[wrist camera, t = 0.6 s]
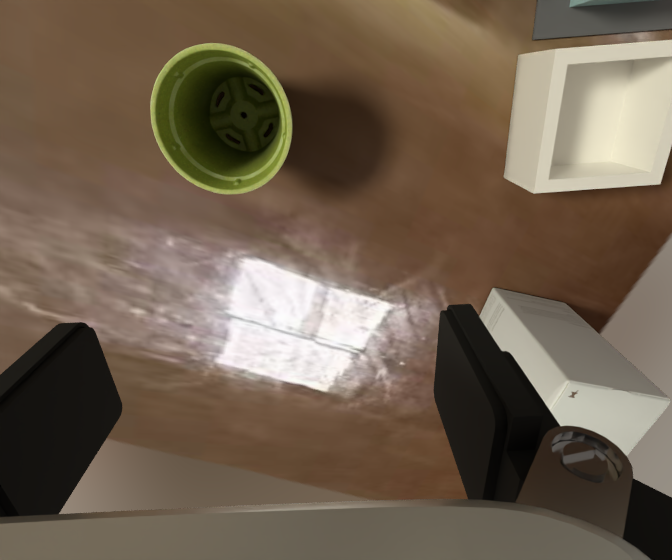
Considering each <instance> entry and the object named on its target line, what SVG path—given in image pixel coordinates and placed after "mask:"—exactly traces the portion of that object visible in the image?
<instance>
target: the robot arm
mask: <svg viewBox="0 0 672 560" xmlns="http://www.w3.org/2000/svg"><path fill="white" fill-rule="evenodd" d="M434 397H435V402H436V405H437V408H438V411H439V414H440V417H441V420H442V423H443V426H444V429H445V432H446V435H447V437H448V440H449V443H450V446H451V449H452V452H453V455H454V458H455V461H456V464H457V467H458V470H459V473H460V476H461V479H462V482H463V485H464V488H465V491H466V494H467V497H468V499H420V500H375V501H348V502H323V503H300V504H299V503H296V504H273V505H248V506H247V505H246V506H225V507H202V508H178V509H158V510H135V511H113V512H93V513H75V514H59V512H60V511H61V509H62V508H63V506H64V505H65V503H66V501H67V500H68V498H69V497H70V495H71V494H72V492H73V490H74V489H75V487H76V486H77V484H78V482H79V481H80V479H81V477H82V476H83V474H84V473H85V471H86V470H87V468H88V466H89V464H90V463H91V462H92V460H93V459H94V457H95V455H96V454H97V452H98V451H99V449H100V448H101V446H102V444H103V443H104V441H105V440H106V438H107V436H108V435H109V433H110V432H111V430H112V428H113V427H114V425H115V424H116V422H117V421H118V419H119V417H120V415H121V412H122V402H121V400H120V397H119V394H118V392H117V389H116V386H115V383H114V381H113V378H112V375H111V373H110V370H109V367H108V365H107V362H106V359H105V357H104V354H103V351H102V349H101V346H100V343H99V341H98V338H97V335H96V333H95V331H94V329H93V328H90V327H89V326H88V325H87V324H86V323H83V322H79V323H61V324H58V325H57V326H55V327H54V328H53V329H52V330H51V331H50V332H48V333H47V334H46V335H45V336H44V337H43V338H42V339H40V340H39V341H38V342H37V343H36V344H35V345H34V346H33V347H31V348H30V349H29V350H28V351H27V352H26V353H25V354H23V355H22V356H21V357H20V358H19V359H18V360H17V361H16V362H14V363H13V364H12V365H11V366H10V367H9V368H8V369H6V370H5V371H4V372H3V373H2V374H1V375H0V560H672V498H671V497H669V496H667V495H665V494H663V493H661V492H659V491H657V490H655V489H653V488H651V487H649V486H647V485H645V484H643V483H641V482H639V481H637V480H635V479H633V471H632V465H631V463H630V462H629V460H628V458H627V456H626V455H625V454H624V453H623V452H622V450H621V449H620V448H619V447H618V446H617V445H615V444H614V443H613V442H611V441H610V440H609V439H607V438H606V437H604V436H602V435H600V434H598V433H596V432H594V431H591V430H588V429H585V428H582V427H576V426H568V425H567V426H560V425H559V423H558V422H557V420H556V419H555V417H554V416H553V414H552V413H551V411H550V410H549V408H548V407H547V405H546V404H545V403H544V401H543V400H542V398H541V397H540V395H539V394H538V392H537V391H536V389H535V388H534V386H533V385H532V383H531V382H530V381H529V379H528V378H527V376H526V375H525V373H524V372H523V370H522V369H521V367H520V366H519V364H518V363H517V361H516V360H515V359H514V357H513V356H512V355H511V354H510V352H507V351H501V349H500V348H499V346H498V345H497V343H496V342H495V340H494V339H493V337H492V335H491V334H490V332H489V331H488V329H487V328H486V326H485V325H484V323H483V322H482V320H481V319H480V317H479V316H478V314H477V312H476V311H475V309H474V308H473V306H472V305H471V304H460V305H449V306H448V307H447V310H446V311H441V313H440V321H439V333H438V345H437V357H436V369H435V381H434Z"/></svg>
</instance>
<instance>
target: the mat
mask: <svg viewBox="0 0 672 560" xmlns="http://www.w3.org/2000/svg"><path fill="white" fill-rule="evenodd" d="M569 6H570V0H537V6H536V14H535V22H534V30H533V37H532V40H536V39H549V38H561V37H574V36H587V35H599V34H612V33H625V32H637V31H650V30H663V29H672V0H654V1H642V2H629V3H617V4H604V5H592V6H579V7H569Z"/></svg>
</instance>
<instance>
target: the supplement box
mask: <svg viewBox="0 0 672 560" xmlns="http://www.w3.org/2000/svg"><path fill="white" fill-rule="evenodd" d="M479 317H480V319H481V320H482V322H483V323H484V325H485V326H486V328H487V329H488V331H489V332H490V334H491V335H492V337H493V339H494V340H495V342H496V343H497V345H498V346H499V348H500V349H501V351H507V352H510V354H511V355H512V356H513V357H514V359H515V360H516V361H517V363H518V364H519V366H520V367H521V369H522V370H523V372H524V373H525V375H526V376H527V378H528V379H529V381H530V382H531V383H532V385H533V386H534V388H535V389H536V391H537V392H538V394H539V395H540V397H541V398H542V400H543V401H544V403H545V404H546V405H547V407H548V408H549V410H550V411H551V413H552V414H553V416H554V417H555V419H556V420H557V422H558V423H559V425H560V426H567V425H568V426H576V427H582V428H585V429H588V430H591V431H594V432H596V433H598V434H600V435H602V436H604V437H606V438H607V439H609V440H610V441H611V442H613V443H614V444H615V445H617V446H618V447H619V448H620V449H621V450H622V452H623V453H624V454H625V455H626V456H627V455H628V454H629V453H630V451H631V450H632V449H633V448H634V446H635V445H636V444H637V443H638V442H639V440H640V439H641V438H642V437H643V436H644V434H645V433H646V432H647V431H648V430H649V428H650V427H651V426H652V425H653V424H654V422H655V421H656V420H657V419H658V418H659V416H660V415H661V414H662V413H663V412H664V410H665V409H666V408H667V406H668V405H669V404H670V402H671V399H670V398H669V397H668V396H667V395H666V394H664V393H663V392H662V391H661V390H660V389H659V388H658V387H657V386H656V385H655V384H654V383H653V382H651V381H650V380H649V379H648V378H647V377H646V376H645V375H644V374H643V373H641V372H640V371H639V370H638V369H637V368H636V367H635V366H634V365H632V363H630V362H629V361H628V360H627V359H626V358H625V357H624V356H623V355H621V353H619V352H618V351H617V350H616V349H615V348H614V347H613V346H612V345H611V344H610V343H608V342H607V341H606V340H605V339H604V338H603V337H602V336H601V335H600V334H599V333H597V332H596V331H595V330H594V329H593V328H592V327H591V326H590V325H589V324H588V323H586V322H585V321H584V320H583V319H582V318H581V317H580V316H579V315H578V314H577V313H576V312H574V311H573V310H572V309H571V308H570V307H569V306H568V305H567V304H566V303H563V302H559V301H554V300H549V299H545V298H540V297H535V296H531V295H526V294H522V293H517V292H513V291H508V290H503V289H499V288H492V291H491V293H490V295H489V297H488V299H487V301H486V303H485V306H484V308H483V310H482V312H481V314H480V316H479Z"/></svg>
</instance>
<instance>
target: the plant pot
mask: <svg viewBox="0 0 672 560" xmlns="http://www.w3.org/2000/svg"><path fill="white" fill-rule="evenodd" d="M251 84H253V85H255V86H257V87H258V88H260V89H261V90H263V93H264V95H261V94H260V93H258V92H257V91H256V90H254V89H252V88H250V87H249V85H251ZM221 92H224V93H225V95H224V96H223V98H222V100H221V102H220V104H219V107H217V106H216V102H217V97H218V96H219V94H220V93H221ZM150 108H151V122H152V127H153V131H154V135H155V138H156V140H157V143H158V145H159V147H160V149H161V151H162V152H163V154H164V156H165V157H166V159H167V160H168V161H169V163H170V164H171V165H172V166H173V167H174V169H175V170H176V171H177V172H178V173H179V174H180V175H182V176H183V177H184V178H185V179H187V180H188V181H190V182H192V183H193V184H195V185H197V186H199V187H201V188H203V189H205V190H208V191H212V192H215V193H220V194H240V193H246V192H250V191H252V190H255V189H257V188H259V187H261V186H263V185H264V184H266V183H267V182H268V181H269V180H271V179H272V178H273V177H274V176H275V175H276V173H277V172H278V171H279V170H280V168H281V167H282V165H283V163H284V161H285V159H286V157H287V154H288V152H289V148H290V144H291V139H292V114H291V109H290V105H289V102H288V99H287V96H286V94H285V92H284V90H283V87H282V86H281V84H280V82H279V81H278V79H277V78H276V76H275V75H274V74H273V73H272V71H271V70H270V69H269V68H268V67H267V66H266V65H265V64H264V63H263V62H261V61H260V60H259V59H258V58H256V57H255V56H253V55H251V54H250V53H248V52H246V51H244V50H242V49H240V48H237V47H234V46H230V45H226V44H219V43H206V44H200V45H196V46H193V47H190V48H187V49H185V50H183V51H181V52H179V53H178V54H176V55H175V56H174V57H173V58H172V59H171V60H169V61H168V63H167V64H166V65H165V66H164V68H163V69H162V70H161V72H160V74H159V75H158V77H157V79H156V82H155V85H154V88H153V92H152V97H151V107H150ZM242 112H245V113H246V114H247V117H246V118H245V119H244V118H242V117H241V113H242ZM270 123H272V124H273V129H272V131H271V132H270V134H269V136H267V137H264V134H265V133H266V131H267V130H268V127H269V124H270ZM226 134H229V135H230V136H232V137H233V138H235V139H236V140H238V141H240V143H239V144H236V143H235V142H233V141H230V140H229V139H228V138H227V137H226Z"/></svg>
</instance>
